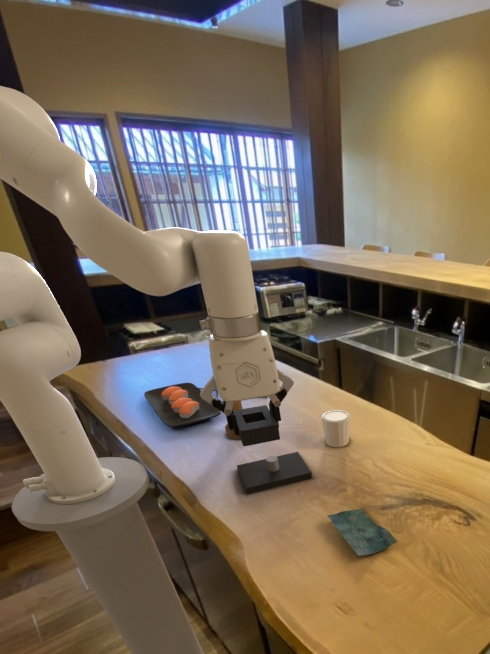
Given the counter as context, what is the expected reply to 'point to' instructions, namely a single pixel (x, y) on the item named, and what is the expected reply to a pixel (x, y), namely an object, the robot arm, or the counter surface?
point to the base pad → (273, 472)
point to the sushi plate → (181, 404)
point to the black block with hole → (256, 425)
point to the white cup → (336, 427)
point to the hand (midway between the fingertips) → (256, 427)
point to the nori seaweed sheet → (362, 532)
